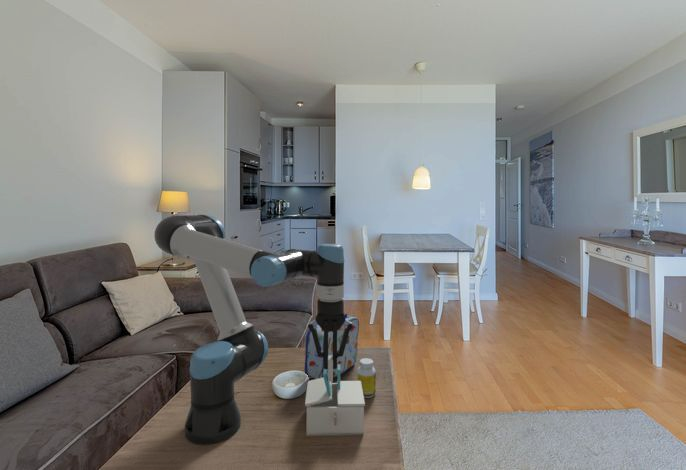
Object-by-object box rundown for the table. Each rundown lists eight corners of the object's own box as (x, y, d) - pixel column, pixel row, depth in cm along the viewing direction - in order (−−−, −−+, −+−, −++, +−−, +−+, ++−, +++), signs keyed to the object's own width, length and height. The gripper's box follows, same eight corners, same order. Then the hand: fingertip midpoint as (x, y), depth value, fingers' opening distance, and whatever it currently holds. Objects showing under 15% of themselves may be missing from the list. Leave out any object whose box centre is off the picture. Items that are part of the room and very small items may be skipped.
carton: (305, 440, 96) (306, 412, 95) (309, 407, 112) (309, 383, 111) (364, 440, 96) (364, 412, 96) (359, 406, 112) (359, 382, 112)
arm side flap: (305, 406, 98) (299, 384, 97) (308, 383, 111) (303, 363, 110) (332, 400, 98) (326, 377, 97) (331, 377, 111) (326, 357, 110)
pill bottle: (374, 399, 117) (375, 366, 116) (355, 397, 118) (355, 364, 117) (376, 390, 123) (377, 358, 122) (358, 388, 124) (358, 356, 124)
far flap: (360, 382, 111) (361, 362, 111) (364, 406, 98) (365, 383, 98) (336, 383, 111) (337, 362, 111) (337, 406, 98) (338, 383, 98)
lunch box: (340, 356, 151) (341, 306, 150) (361, 361, 146) (362, 310, 144) (301, 382, 128) (301, 323, 126) (324, 390, 123) (324, 328, 121)
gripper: (306, 302, 95) (307, 386, 97) (354, 302, 95) (353, 385, 97) (308, 295, 102) (308, 373, 104) (352, 295, 103) (351, 372, 105)
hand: (330, 379), depth 101 cm, fingers closed
